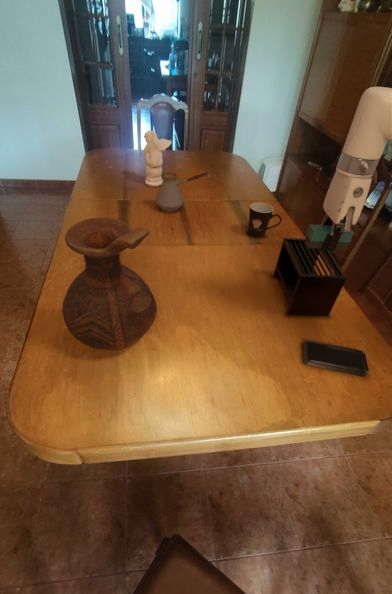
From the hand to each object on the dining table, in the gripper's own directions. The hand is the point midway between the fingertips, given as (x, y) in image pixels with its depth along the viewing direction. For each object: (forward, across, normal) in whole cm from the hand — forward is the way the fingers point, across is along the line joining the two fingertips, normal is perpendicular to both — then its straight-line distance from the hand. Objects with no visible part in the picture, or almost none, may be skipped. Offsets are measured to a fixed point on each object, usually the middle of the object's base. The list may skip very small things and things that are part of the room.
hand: (325, 244), depth 79 cm
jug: (+20, -12, +53) cm, 57 cm away
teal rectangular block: (0, 0, 0) cm, 0 cm away
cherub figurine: (+20, +90, +45) cm, 103 cm away
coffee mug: (+20, +42, +5) cm, 47 cm away
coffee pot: (+20, +63, +34) cm, 74 cm away
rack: (+19, +5, -1) cm, 20 cm away
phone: (+19, -21, -2) cm, 29 cm away
